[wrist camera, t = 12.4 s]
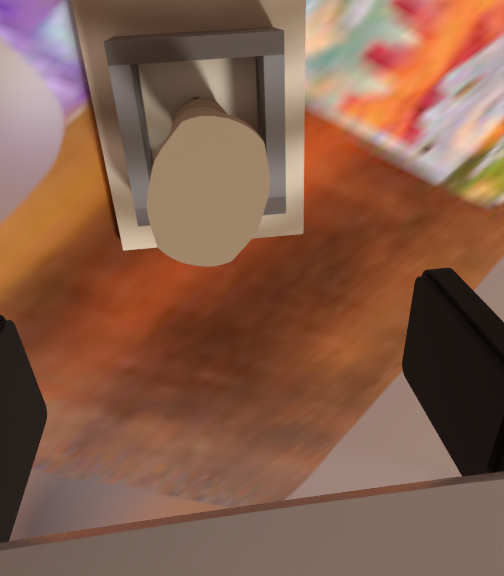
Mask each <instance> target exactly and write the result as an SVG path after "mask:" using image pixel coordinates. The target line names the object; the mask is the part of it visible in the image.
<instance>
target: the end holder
mask: <svg viewBox="0 0 504 576" xmlns="http://www.w3.org/2000/svg"><path fill="white" fill-rule="evenodd" d="M71 2H72V7H73V12H74V17H75V21H76V26H77V31H78V36H79V40H80V45H81V50H82V55H83V60H84V64H85V69H86V74H87V79H88V84H89V88H90V93H91V98H92V103H93V108H94V112H95V117H96V122H97V127H98V132H99V136H100V141H101V146H102V151H103V155H104V160H105V165H106V170H107V175H108V179H109V184H110V189H111V194H112V199H113V203H114V208H115V213H116V218H117V223H118V227H119V232H120V237H121V242H122V247H123V250H133V249H144V248H155V247H157V244H156V241H155V238H154V235H153V232H152V229H151V225H150V222H149V219H148V213H147V195H148V189H149V183H150V178H151V172H152V167H153V161H154V158H155V155H156V153H157V151H158V150H159V148H160V146H161V145H162V143H163V142H164V140H165V139H166V138H167V136H168V135H169V134H170V129H171V125H172V122H173V120H174V117H175V115H176V113H177V112H178V110H179V109H180V108H181V107H182V106H183V105H184V104H185V103H187V102H189V101H191V98H192V97H196V96H198V97H200V98H201V99H209V100H211V101H216V102H217V103H218V104H219V105H220V106H221V107H222V108H223V109H224V110H225V111H226V112H227V114H228V115H231V116H234V117H237V118H239V119H240V120H242V121H244V122H246V123H248V124H249V125H250V126H251V127H252V128H253V129H254V130H255V131H256V132H257V133H258V134H259V135H260V136H261V138H262V139H263V141H264V144H265V149H266V155H267V161H268V167H269V174H270V190H269V196H268V200H267V203H266V207H265V210H264V213H263V217H262V220H261V223H260V225H259V227H258V230H257V232H256V233H255V234H254V236H253V237H252V238H262V237H273V236H283V235H294V234H303V214H304V112H305V10H306V0H71Z"/></svg>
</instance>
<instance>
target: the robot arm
mask: <svg viewBox="0 0 504 576" xmlns="http://www.w3.org/2000/svg"><path fill="white" fill-rule="evenodd" d="M402 368H403V373H404V376H405V378H406V380H407V381H408V383H409V385H410V387H411V388H412V390H413V392H414V393H415V395H416V397H417V399H418V400H419V402H420V404H421V406H422V407H423V409H424V411H425V412H426V414H427V416H428V418H429V420H430V421H431V423H432V425H433V426H434V428H435V430H436V432H437V433H438V435H439V437H440V438H441V440H442V442H443V444H444V446H445V447H446V449H447V451H448V452H449V454H450V456H451V458H452V459H453V461H454V463H455V464H456V466H457V468H458V470H459V472H460V473H461V475H462V477H454V478H445V479H437V480H430V481H423V482H415V483H408V484H401V485H394V486H386V487H379V488H371V489H364V490H357V491H350V492H342V493H335V494H328V495H320V496H313V497H306V498H299V499H292V500H285V501H278V502H271V503H264V504H257V505H250V506H243V507H236V508H229V509H222V510H215V511H208V512H201V513H194V514H188V515H180V516H173V517H166V518H160V519H153V520H146V521H140V522H132V523H126V524H119V525H112V526H106V527H99V528H92V529H85V530H78V531H72V532H65V533H58V534H51V535H45V536H39V537H34V538H27V539H21V540H15V541H9V539H10V536H11V533H12V529H13V526H14V523H15V520H16V516H17V514H18V510H19V507H20V503H21V501H22V497H23V494H24V491H25V488H26V485H27V481H28V478H29V475H30V472H31V469H32V465H33V462H34V459H35V456H36V453H37V449H38V446H39V443H40V440H41V437H42V433H43V430H44V427H45V424H46V420H47V409H46V405H45V402H44V400H43V397H42V394H41V392H40V389H39V386H38V384H37V381H36V379H35V376H34V373H33V371H32V368H31V366H30V363H29V360H28V358H27V355H26V352H25V350H24V347H23V345H22V342H21V339H20V337H19V334H18V332H17V329H16V326H15V324H14V323H13V321H11V320H7V321H6V319H5V318H4V317H3V316H2V315H0V576H504V322H503V321H502V320H501V319H500V318H499V317H498V316H497V315H496V314H495V313H494V312H493V311H492V310H491V309H490V308H489V307H488V306H487V304H486V303H485V302H484V301H483V300H482V299H480V297H479V296H478V295H477V294H476V293H475V292H474V291H473V290H472V289H471V288H470V287H469V286H468V285H467V284H466V283H465V282H464V281H463V280H462V279H461V278H460V277H459V276H458V275H457V273H456V272H455V271H454V270H452V269H451V268H440V269H430V270H425V271H424V272H423V274H422V276H421V277H417V279H416V281H415V285H414V292H413V298H412V304H411V310H410V317H409V323H408V329H407V336H406V342H405V348H404V355H403V361H402Z"/></svg>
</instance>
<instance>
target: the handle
mask: <svg viewBox="0 0 504 576" xmlns="http://www.w3.org/2000/svg"><path fill="white" fill-rule="evenodd" d="M269 190H270V174H269V167H268V161H267V155H266V149H265V144H264V141H263V139H262V138H261V136H260V135H259V134H258V133H257V132H256V131H255V130H254V129H253V128H252V127H251V126H250V125H249V124H248V123H246V122H244V121H242V120H240V119H239V118H237V117H234V116H231V115H228V114H227V112H226V111H225V110H224V109H223V108H222V107H221V106H220V105H219V104H218V103H217V102H216V101H211V100H209V99H201V98H200V97H198V96H196V97H192V98H191V101H189V102H187V103H185V104H184V105H183V106H182V107H181V108H180V109H179V110H178V112H177V113H176V115H175V117H174V120H173V122H172V125H171V129H170V134H169V135H168V136H167V138H166V139H165V140H164V142H163V143H162V145H161V146H160V148H159V150H158V151H157V153H156V155H155V158H154V161H153V167H152V172H151V178H150V183H149V189H148V195H147V213H148V219H149V222H150V225H151V229H152V232H153V235H154V238H155V241H156V244H157V247H158V248H159V249H160V250H161V251H162V252H164V253H165V254H166V255H168V256H169V257H171V258H173V259H175V260H177V261H180V262H183V263H186V264H190V265H196V266H217V265H222V264H225V263H228V262H231V261H232V260H233V259H234V258H235V257H236V256H237V255H238V253H239V252H240V251H241V250H242V249H243V248H244V247H245V246H246V245H247V243H248V242H249V241H250V240H251V239H252V237H253V236H254V234H255V233H256V232H257V230H258V227H259V225H260V223H261V220H262V217H263V213H264V210H265V207H266V203H267V200H268V196H269Z"/></svg>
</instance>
